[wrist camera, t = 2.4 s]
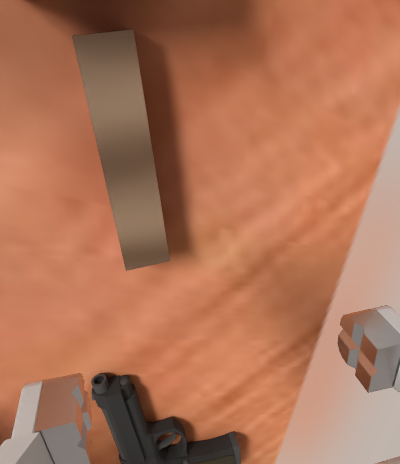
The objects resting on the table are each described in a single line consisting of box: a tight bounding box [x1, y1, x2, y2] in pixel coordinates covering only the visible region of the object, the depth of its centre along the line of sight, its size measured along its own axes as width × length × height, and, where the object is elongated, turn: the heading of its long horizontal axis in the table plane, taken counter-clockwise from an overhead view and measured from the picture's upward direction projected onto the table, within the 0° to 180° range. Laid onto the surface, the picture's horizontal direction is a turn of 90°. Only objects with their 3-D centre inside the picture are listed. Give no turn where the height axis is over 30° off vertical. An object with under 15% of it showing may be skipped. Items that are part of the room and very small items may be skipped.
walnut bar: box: [72, 30, 170, 271], centre depth 23 cm, size 14×3×3 cm, turn 6°
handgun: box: [91, 374, 241, 464], centre depth 37 cm, size 3×19×12 cm
